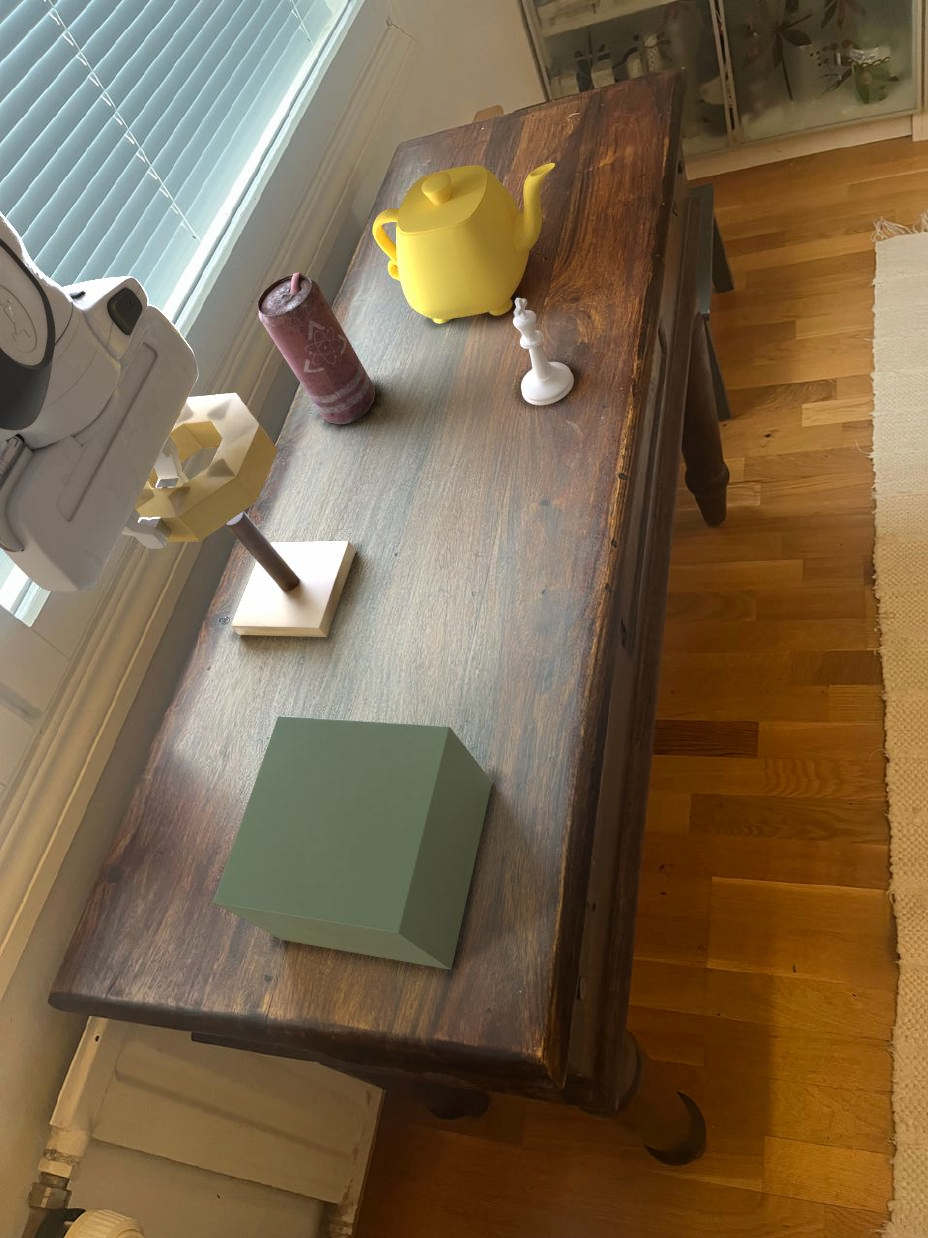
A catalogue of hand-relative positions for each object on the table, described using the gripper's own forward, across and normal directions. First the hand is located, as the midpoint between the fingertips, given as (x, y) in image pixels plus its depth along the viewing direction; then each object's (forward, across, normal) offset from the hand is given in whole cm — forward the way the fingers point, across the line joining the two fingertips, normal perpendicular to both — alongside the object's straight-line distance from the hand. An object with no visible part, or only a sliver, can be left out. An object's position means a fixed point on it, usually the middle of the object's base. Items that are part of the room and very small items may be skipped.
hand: (172, 517), depth 67 cm
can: (+17, +27, +2) cm, 32 cm away
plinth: (+17, -18, -16) cm, 29 cm away
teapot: (+17, +42, -10) cm, 47 cm away
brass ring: (+1, +4, 0) cm, 5 cm away
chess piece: (+17, +28, -19) cm, 37 cm away
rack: (+17, +4, 0) cm, 17 cm away
